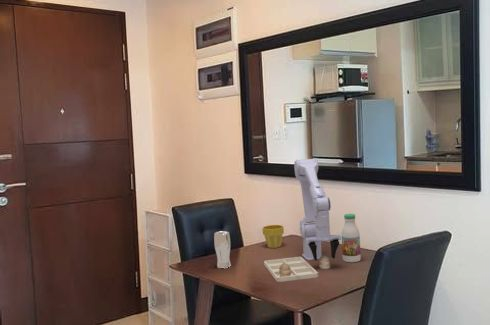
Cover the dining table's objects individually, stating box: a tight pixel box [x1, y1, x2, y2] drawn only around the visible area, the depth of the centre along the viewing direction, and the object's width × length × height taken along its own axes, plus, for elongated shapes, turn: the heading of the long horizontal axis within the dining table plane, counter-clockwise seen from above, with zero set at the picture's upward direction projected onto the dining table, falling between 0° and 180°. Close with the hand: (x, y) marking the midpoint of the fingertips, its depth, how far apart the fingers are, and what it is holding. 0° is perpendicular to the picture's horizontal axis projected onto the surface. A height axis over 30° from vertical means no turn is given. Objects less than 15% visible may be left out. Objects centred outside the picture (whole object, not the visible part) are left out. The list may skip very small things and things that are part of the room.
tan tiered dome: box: [279, 263, 291, 277], centre depth 203 cm, size 4×4×6 cm
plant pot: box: [262, 224, 285, 249], centre depth 254 cm, size 10×10×10 cm
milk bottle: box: [341, 213, 362, 263], centre depth 222 cm, size 8×8×20 cm
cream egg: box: [318, 254, 331, 270], centre depth 213 cm, size 4×4×6 cm
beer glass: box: [213, 230, 232, 269], centre depth 225 cm, size 7×7×15 cm
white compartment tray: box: [263, 256, 320, 283], centre depth 212 cm, size 25×17×2 cm
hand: (324, 258), depth 213 cm, fingers open, 7 cm apart
